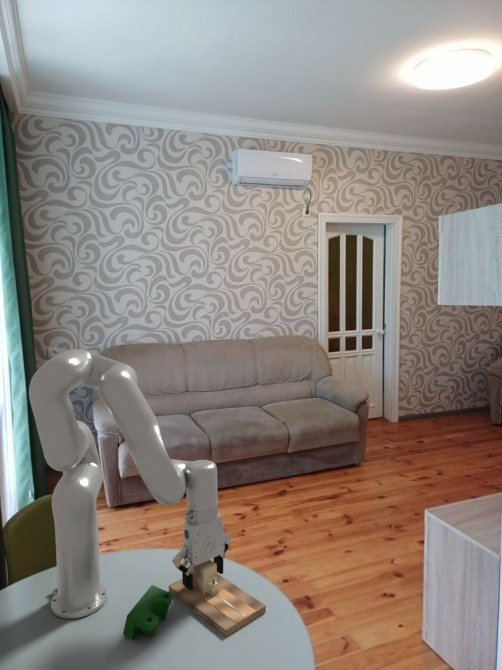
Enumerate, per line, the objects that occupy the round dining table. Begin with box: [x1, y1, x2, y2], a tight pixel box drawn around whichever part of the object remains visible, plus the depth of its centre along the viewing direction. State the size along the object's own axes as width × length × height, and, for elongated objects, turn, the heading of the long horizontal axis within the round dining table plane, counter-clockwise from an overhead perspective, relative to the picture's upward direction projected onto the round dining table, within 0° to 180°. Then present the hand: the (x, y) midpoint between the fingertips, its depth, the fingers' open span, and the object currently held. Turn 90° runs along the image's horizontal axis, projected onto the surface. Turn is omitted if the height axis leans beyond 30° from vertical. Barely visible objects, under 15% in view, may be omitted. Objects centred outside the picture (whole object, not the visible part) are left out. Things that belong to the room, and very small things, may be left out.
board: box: [168, 572, 267, 638], centre depth 116 cm, size 22×12×2 cm, turn 43°
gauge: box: [191, 559, 219, 596], centre depth 119 cm, size 10×4×6 cm, turn 43°
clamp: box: [122, 584, 174, 640], centre depth 107 cm, size 12×6×9 cm, turn 158°
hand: (203, 579), depth 119 cm, fingers open, 9 cm apart
